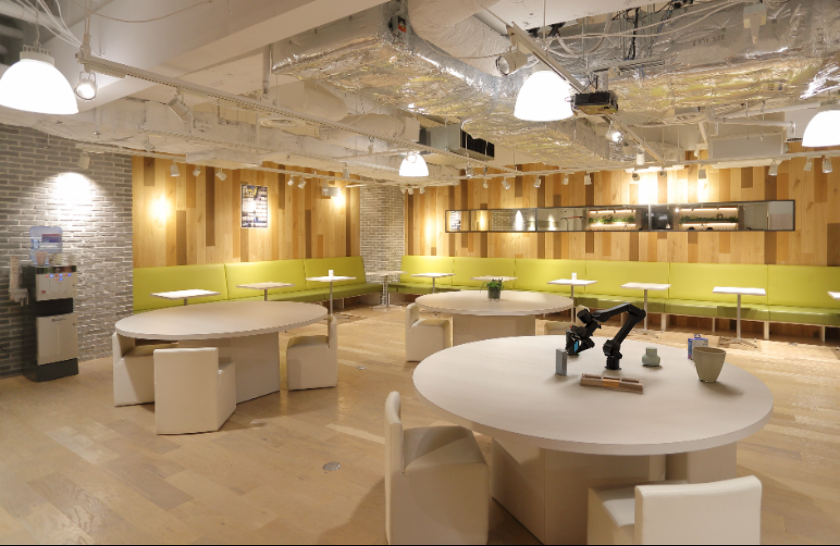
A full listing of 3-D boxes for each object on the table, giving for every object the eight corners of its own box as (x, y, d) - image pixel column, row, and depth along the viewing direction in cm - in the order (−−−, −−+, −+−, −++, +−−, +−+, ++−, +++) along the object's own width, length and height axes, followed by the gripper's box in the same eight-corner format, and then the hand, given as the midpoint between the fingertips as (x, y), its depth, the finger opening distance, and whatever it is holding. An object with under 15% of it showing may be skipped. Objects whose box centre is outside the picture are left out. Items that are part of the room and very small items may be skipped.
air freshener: (656, 368, 273) (657, 350, 272) (640, 365, 278) (641, 348, 277) (660, 364, 281) (661, 346, 281) (645, 361, 286) (646, 344, 286)
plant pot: (721, 386, 240) (722, 354, 238) (687, 380, 250) (689, 350, 248) (727, 379, 251) (729, 349, 249) (695, 374, 261) (696, 344, 259)
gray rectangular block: (560, 372, 266) (560, 348, 265) (566, 375, 261) (567, 351, 260) (555, 372, 266) (555, 349, 265) (561, 375, 260) (562, 351, 259)
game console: (579, 357, 297) (580, 333, 296) (569, 356, 299) (569, 333, 298) (575, 346, 325) (575, 325, 324) (565, 346, 326) (565, 324, 325)
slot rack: (582, 380, 252) (582, 372, 252) (641, 386, 241) (642, 378, 241) (580, 385, 243) (580, 378, 242) (642, 392, 232) (642, 384, 232)
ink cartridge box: (703, 357, 295) (704, 333, 294) (708, 360, 289) (709, 335, 288) (686, 357, 295) (687, 333, 294) (691, 360, 289) (692, 335, 288)
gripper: (569, 316, 273) (552, 337, 271) (590, 322, 255) (571, 345, 253) (581, 330, 276) (564, 350, 274) (603, 336, 258) (584, 359, 256)
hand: (570, 351), depth 264 cm, fingers open, 9 cm apart
